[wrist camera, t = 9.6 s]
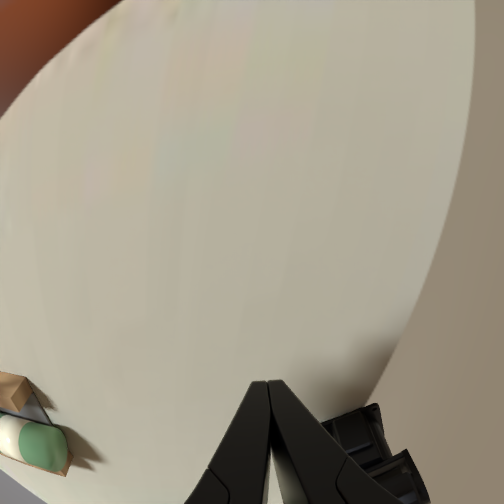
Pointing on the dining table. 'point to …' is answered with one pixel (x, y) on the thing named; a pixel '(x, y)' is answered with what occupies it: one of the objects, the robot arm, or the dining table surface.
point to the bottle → (32, 443)
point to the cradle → (24, 408)
